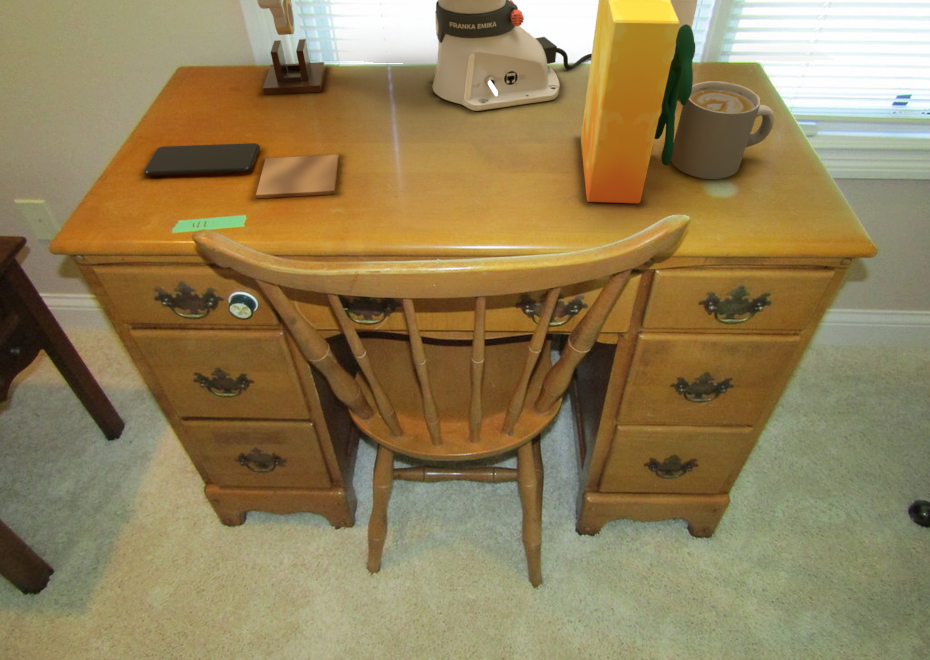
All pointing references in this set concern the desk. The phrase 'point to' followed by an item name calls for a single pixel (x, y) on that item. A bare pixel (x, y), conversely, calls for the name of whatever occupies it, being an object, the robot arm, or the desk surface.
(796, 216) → the desk surface
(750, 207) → the desk surface
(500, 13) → the robot arm
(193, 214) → the desk surface
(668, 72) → the mottled yellow carton
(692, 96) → the coffee mug
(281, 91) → the stand
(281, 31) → the tape roll
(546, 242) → the desk surface
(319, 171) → the cork pad
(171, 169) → the smartphone
